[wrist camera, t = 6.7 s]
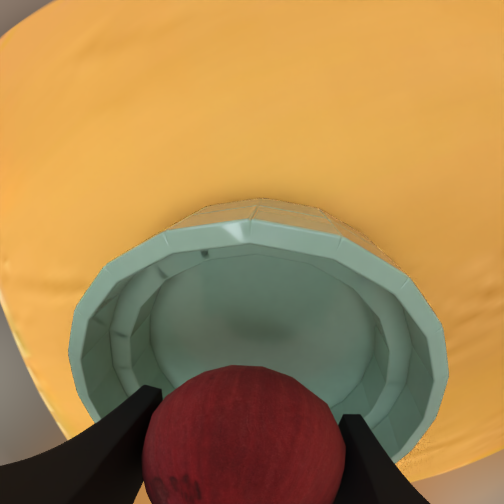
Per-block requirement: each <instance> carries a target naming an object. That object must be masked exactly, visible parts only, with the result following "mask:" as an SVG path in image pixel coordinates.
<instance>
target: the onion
mask: <svg viewBox="0 0 504 504" xmlns="http://www.w3.org/2000/svg"><path fill="white" fill-rule="evenodd" d="M345 454H346V445H345V443H344V440H343V437H342V434H341V431H340V429H339V426H338V424H337V422H336V420H335V418H334V416H333V414H332V412H331V410H330V408H329V406H328V404H327V403H326V402H324V401H323V400H322V399H320V398H319V397H318V396H316V395H315V394H314V393H313V392H311V391H310V390H309V389H307V388H306V387H305V386H304V385H302V384H301V383H300V382H298V381H297V380H296V379H295V378H293V377H291V376H288V375H286V374H283V373H280V372H277V371H274V370H271V369H269V368H266V367H263V366H244V365H229V366H225V367H221V368H217V369H213V370H209V371H204V372H203V373H201V374H199V375H197V376H195V377H193V378H191V379H189V380H187V381H186V382H185V383H183V384H182V385H181V386H179V387H178V388H176V389H175V390H174V391H172V392H171V393H169V394H168V395H167V396H166V397H165V398H164V399H163V401H162V402H161V403H160V405H159V406H158V407H157V409H156V410H155V411H154V413H153V414H152V417H151V420H150V423H149V427H148V430H147V433H146V436H145V441H144V446H143V451H142V456H141V457H142V477H143V481H144V484H145V488H146V492H147V494H148V497H149V499H150V501H151V503H152V504H333V502H334V500H335V497H336V495H337V492H338V490H339V487H340V484H341V480H342V476H343V472H344V466H345Z"/></svg>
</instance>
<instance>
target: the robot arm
mask: <svg viewBox="0 0 504 504" xmlns="http://www.w3.org/2000/svg"><path fill="white" fill-rule="evenodd" d="M162 401H163V397H162V389H160V388H156V387H152V386H149V385H143V386H141V387H140V388H139V389H138V390H137V391H136V392H134V393H133V394H132V395H131V396H130V397H129V398H127V399H126V400H125V401H124V402H123V403H121V404H120V405H119V406H118V407H116V408H115V409H114V410H113V411H111V412H110V413H109V414H107V415H106V416H105V417H103V418H102V419H101V420H99V421H98V422H96V423H95V424H94V425H92V426H91V427H89V428H88V429H86V430H84V431H83V432H81V433H80V434H78V435H77V436H75V437H73V438H72V439H70V440H68V441H66V442H64V443H63V444H61V445H59V446H57V447H55V448H53V449H50V450H48V451H46V452H43V453H41V454H39V455H36V456H33V457H31V458H28V459H25V460H21V461H18V462H14V463H10V464H6V465H2V466H0V504H133V503H134V500H135V498H136V496H137V493H138V491H139V489H140V487H141V485H142V483H143V477H142V457H141V456H142V451H143V446H144V441H145V436H146V433H147V430H148V427H149V423H150V420H151V417H152V414H153V413H154V411H155V410H156V409H157V407H158V406H159V405H160V403H161V402H162ZM338 426H339V429H340V431H341V434H342V437H343V440H344V443H345V445H346V454H345V466H344V472H343V476H342V480H341V484H340V487H339V490H338V492H337V495H336V497H335V500H334V502H333V504H430V503H429V502H428V501H427V500H426V499H425V498H424V497H423V496H422V495H421V494H420V493H419V492H418V491H417V490H416V489H415V488H414V487H413V486H412V485H411V483H410V482H409V481H408V480H407V479H406V478H405V476H404V475H403V474H402V473H401V472H400V470H399V469H398V468H397V466H396V465H395V464H394V462H393V461H392V460H391V458H390V457H389V456H388V454H387V453H386V451H385V450H384V449H383V447H382V446H381V444H380V443H379V441H378V440H377V438H376V437H375V435H374V434H373V432H372V431H371V429H370V428H369V426H368V425H367V423H366V422H365V420H364V419H363V417H362V416H361V414H343V415H342V418H341V420H340V422H339V424H338Z"/></svg>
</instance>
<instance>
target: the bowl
mask: <svg viewBox="0 0 504 504" xmlns="http://www.w3.org/2000/svg"><path fill="white" fill-rule="evenodd" d="M68 356H69V361H70V365H71V370H72V374H73V378H74V382H75V386H76V390H77V393H78V396H79V397H80V399H81V401H82V403H83V404H84V406H85V408H86V409H87V411H88V413H89V414H90V416H91V418H92V419H93V421H94V423H96V422H98V421H99V420H101V419H102V418H103V417H105V416H106V415H107V414H109V413H110V412H111V411H113V410H114V409H115V408H116V407H118V406H119V405H120V404H121V403H123V402H124V401H125V400H126V399H127V398H129V397H130V396H131V395H132V394H133V393H134V392H136V391H137V390H138V389H139V388H140V387H141V386H143V385H149V386H152V387H156V388H160V389H162V397H163V399H164V398H165V397H166V396H167V395H168V394H169V393H171V392H172V391H174V390H175V389H176V388H178V387H179V386H181V385H182V384H183V383H185V382H186V381H187V380H189V379H191V378H193V377H195V376H197V375H199V374H201V373H203V372H204V371H209V370H213V369H217V368H221V367H225V366H229V365H244V366H263V367H266V368H269V369H271V370H274V371H277V372H280V373H283V374H286V375H288V376H291V377H293V378H295V379H296V380H297V381H298V382H300V383H301V384H302V385H304V386H305V387H306V388H307V389H309V390H310V391H311V392H313V393H314V394H315V395H316V396H318V397H319V398H320V399H322V400H323V401H324V402H326V403H327V404H328V406H329V408H330V410H331V412H332V414H333V416H334V418H335V420H336V422H337V424H339V422H340V420H341V418H342V415H343V414H361V416H362V417H363V419H364V420H365V422H366V423H367V425H368V426H369V428H370V429H371V431H372V432H373V434H374V435H375V437H376V438H377V440H378V441H379V443H380V444H381V446H382V447H383V449H384V450H385V451H386V453H387V454H388V456H389V457H390V458H391V460H392V461H393V462H394V464H395V463H397V462H398V461H399V460H401V459H402V458H403V457H404V456H406V455H407V454H408V453H409V452H410V451H411V450H412V449H413V448H414V447H415V445H416V444H417V443H418V441H419V440H420V439H421V438H422V436H423V435H424V434H425V432H426V431H427V430H428V428H429V427H430V425H431V424H432V423H433V421H434V420H435V418H436V416H437V413H438V410H439V407H440V404H441V401H442V398H443V395H444V392H445V388H446V385H447V381H448V378H449V369H448V360H447V351H446V344H445V337H444V330H443V327H442V324H441V322H440V321H439V319H438V318H437V316H436V314H435V313H434V311H433V310H432V308H431V307H430V305H429V304H428V302H427V301H426V299H425V298H424V297H423V295H422V294H421V292H420V291H419V289H418V288H417V286H416V285H415V284H414V282H413V281H412V279H411V278H410V277H409V276H408V275H407V274H406V273H405V272H404V271H403V270H402V269H401V268H400V267H399V266H397V265H396V264H395V263H394V262H393V261H392V260H391V259H390V258H389V257H388V256H387V255H386V254H385V253H384V252H383V251H381V250H380V249H379V248H378V247H377V246H376V245H375V244H374V243H373V242H372V241H370V240H369V239H368V238H367V237H366V236H365V235H364V234H362V233H360V232H359V231H357V230H355V229H354V228H352V227H350V226H349V225H347V224H345V223H344V222H342V221H340V220H338V219H337V218H335V217H333V216H332V215H330V214H328V213H326V212H325V211H323V210H321V209H318V208H315V207H310V206H305V205H300V204H294V203H289V202H284V201H279V200H273V199H268V198H263V199H262V198H257V199H250V200H243V201H236V202H229V203H223V204H216V205H210V206H208V207H207V206H206V207H204V208H202V209H200V210H199V211H197V212H195V213H193V214H191V215H189V216H187V217H185V218H184V219H182V220H180V221H178V222H176V223H174V224H172V225H171V226H169V227H167V228H165V229H163V230H162V231H160V232H158V233H157V234H155V235H153V236H151V237H150V238H148V239H146V240H145V241H143V242H141V243H140V244H138V245H136V246H135V247H133V248H131V249H130V250H128V251H126V252H125V253H123V254H121V255H120V256H118V257H117V258H115V259H113V260H112V261H110V262H108V263H107V264H106V265H105V266H104V267H103V268H102V270H101V271H100V272H99V274H98V275H97V277H96V278H95V279H94V281H93V282H92V284H91V285H90V286H89V288H88V289H87V291H86V292H85V294H84V295H83V297H82V298H81V300H80V301H79V303H78V304H77V306H76V309H75V310H74V316H73V322H72V328H71V334H70V341H69V348H68Z"/></svg>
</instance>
